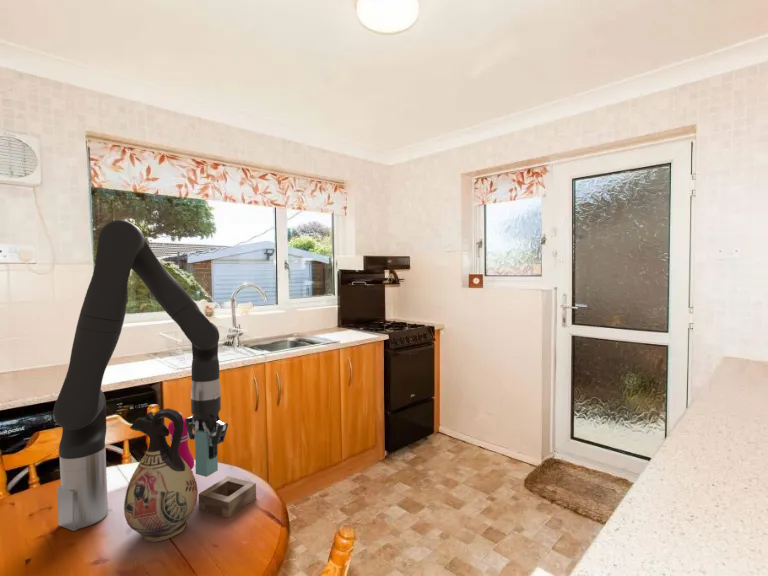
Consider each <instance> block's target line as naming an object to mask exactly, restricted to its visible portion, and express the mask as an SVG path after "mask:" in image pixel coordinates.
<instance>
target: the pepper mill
mask: <svg viewBox="0 0 768 576" xmlns="http://www.w3.org/2000/svg"><path fill="white" fill-rule="evenodd" d="M179 413H180V414H181V416H182V418H183V421H184V422H183V433H182V438H181V441H180V445H179V449H178V453H179V455H180V456H181V457H182V459H183V460H184V461H185V462H186V463H187V464H188V466H189V467H190V469H191V471H192V473H193V474H194V471H193V469H194V467H195V457H194V456H193V454H192V452H191V451H190V448H189V440H190V438H189V434H188V430H187V426H186V422H185V419H186V418H187V417H183V413H182V412H179ZM167 429H168V430H169V436H170V437H169V438H170V439H169V441H170V442H171V443H172V438H173V433H174V424H173V421H171V420H170V422H169V423H168V426H167Z"/></svg>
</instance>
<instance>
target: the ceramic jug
mask: <svg viewBox="0 0 768 576" xmlns="http://www.w3.org/2000/svg"><path fill="white" fill-rule="evenodd" d="M180 413H181V412H179V411H177V410H175V409H172V408H163V409H160V410H158V411H156V412H155V414H153V412H152V411H149V412H148V413H147V414H146V415H144V417H142V416H141V417H138V418H136V420H134V422H133V423H132V424H131V426H130V427H129V429H130V430H133V431H135V432H141V433H142V434H144V435H146V436H147V437H148V438H149V442H148V448H147V449H146V452H145V453H144V455H143V457H142V458H141V460H139V462H138V464H137V467H136V468H135V470H134V472H133V473H132V475H131V477H130V480H129V483H128V485H127V488H126V492H125V496H124V504H123V512H124V513H123V514H124V518H125V521H126V523H127V525H128V526H129V528H131V530H133V531H135V532H136V533H138V534H139V535H141V536H142V538H143V540H144V541H148V542H151V543H153V542H155V543H156V542H157V543H158V542H161V541H164V540H168V539H171V538H172V537H175V536H176V535H179V534H181V533H182V532H183V531H184V530H185V529H186V527H187V523H188V519H189V518H190V517H191V516H192V514H193V512H194V511H195V508H196V505H197V503H198V497H199V493H198V489H199V488H198V484H197V481H196V477H195V475H194V472H193V473H192V471H193V470H192V471H191V469H190V467H189V466H188V464H187V463H186V462H185V461H184V460H183V459H182V457H181V456H180V455H179V453H178V449H179V445H180V441H181V438H182V433H183V422H184V421H183V418H182V417H183V415H182V416H181V414H182V413H181V414H180ZM164 418H165V419H169V420H170V422H171V421H173V424H174V433H173V438H172V442H171V444H170V445H169V444H168V441H167V438H166V437H168V436H170V433H169V430H168V426H166V424H165V423H164V422H163V419H164Z"/></svg>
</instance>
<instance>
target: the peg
mask: <svg viewBox="0 0 768 576" xmlns="http://www.w3.org/2000/svg"><path fill="white" fill-rule="evenodd" d="M214 432H215V430H214V431H212V432H210V434H212V433H214ZM212 439H213V440H214V436H213V437H212ZM218 445H219V444H218ZM218 445H217V450H218ZM194 446H195V447H194V448H195V449H194V450H195V452H194V454H195V457H194V467H195V475H198V476H202V477H206V478H207V477H209V476H211V475H212V474H214V473H216V472H218V470H219V465H218V464H219V461H218V460H219V457H218V454H217V456H216V457H215V458H213V459H209V442H208V438H207V433H205V431H202V430H199V431H195V442H194Z"/></svg>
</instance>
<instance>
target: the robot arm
mask: <svg viewBox="0 0 768 576" xmlns="http://www.w3.org/2000/svg"><path fill="white" fill-rule="evenodd" d="M97 238H98V239H97V245H96V247H97V248H96V254H95V261H94V268H93V272H92V276H91V279H90V282H89V284H88V288H87V289H86V293H85V296H84V300H83V303H82V306H81V309H80V313H79V316H78V319H77V324H76V328H75V334H74V338H73V343H72V348H71V353H70V359H69V363H68V364H69V365H68V368H67V372H66V374H65V378H64V381H63V383H62V386H61V389H60V391H59V394H58V397H57V398H56V400H55V403H54V406H53V409H52V410H53V414H52V415H53V418H54V421H55V422H56V424H57V425H58V426H59V427H61V429H62V430H61V431H62V432H61V438H60V442H59V445H58V452H59V453H58V454H59V472H60V473H59V474H60V485H59V486H56V487H57V488H56V497H57V498H56V499H57V517H58V519H57V520H58V526H59V527H62V528H65V529H66V530H67V529H68V530H70V531H71V532H72V531H73V532H74V531H77V530H80V529H83V528H86V527H89V526H92V525H94V524H97V523H98V522H101V521H102V520H103V519H104V518H106V517H107V515H108V513H109V499H108V498H109V497H108V480H107V475H108V474H107V459H106V458H107V453H106V436H107V435H106V434H107V402H106V400H107V399H106V396H105V393H104V392H103V390H102V384H103V380H104V375H105V372H106V369H107V367H108V364H109V362H110V360H111V358H112V356H113V353H114V351H115V349H116V347H117V345H118V341H119V339H120V337H121V333H122V329H123V326H124V323H125V322H124V321H125V317H126V312H127V302H128V300H127V299H128V283H129V277H130V274H131V271H132V270H133V272H134V273H135V274H136V275H137V276H138V277H139V278H140V279H141V281H142V283H144V285H145V287H147V289H148V290H149V292H150V294H151V295H152V296H153V298H154V299H155V300H156V302H157V303H158V304H159V305H160V306H161V308H162V309H163V310H164V311H165V313H166V314H167V315H168V316H169V317H170V319H172V320H173V321H174V322H175V323H176V324H177V326H178V327H179V328H180V330H181V331H182V333H183V334H184V336H186V338H187V339H188V341H189V342H190V343H191V350H192V351H191V352H192V353H191V354H192V360H191V361H192V362H191V384H190V413H191V415H192V416H188V417H185V418H186V419H185V422H186V426H187V430H188V434H189V440H193V442H194V443H195V431H199V430H202V431H205V433H207V438H208V442H209V459H213V458H215V457H216V456H217V454H218V452H219V451H218V450H217V445H220V444H221V443H224V441H225V439H226V438H225V437H226V434H227V430H228V426H229V424H228V422H222V421H221V419H220V416H219V413H220V411H221V409H222V407H221V405H222V401H221V398H222V397H221V394H222V393H221V391H222V390H221V381H220V380H221V379H220V362H219V361H220V360H219V341H220V332H219V329H218V327H217V326H216V325H215V324H214V323H213V322H211V321H210V320H209V319H208V317H206V316H205V315H204V313H203V312H202V311H201V309H200V308H199V306H198V304H197V303H196V301H195V300H194V299H193V298H192V297H191V295H189V293H188V292H187V291H186V289H184V287H183V286H182V285H181V284H180V283H179V282H178V281H177V280H176V279H175V277H173V275H172V274H171V273H170V272H169V271H168V270H167V269H166V268H165V266H163V264H162V263H161V262H160V260H159V258H158V257H157V256H156V254H155V252H154V251H153V250H152V248H151V247H150V244H149V243H148V241H147V240H146V238H145V236H144V233H143V231H142V230H141V229H140V227H138V226H136V225H135V224H134V223H132V222H130V221H127V220H123V219H116V220H111V221H109V222H107V223H106V224H105V225H103V227H102V228H101V230H99V232H98V237H97ZM214 430H215V432H214V433H212V434H210V432H212V431H214ZM213 436H214V440H213V439H212V437H213Z"/></svg>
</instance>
